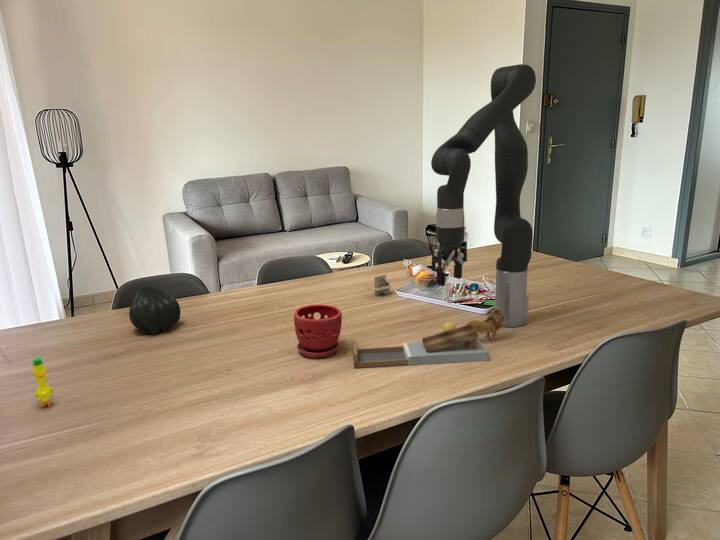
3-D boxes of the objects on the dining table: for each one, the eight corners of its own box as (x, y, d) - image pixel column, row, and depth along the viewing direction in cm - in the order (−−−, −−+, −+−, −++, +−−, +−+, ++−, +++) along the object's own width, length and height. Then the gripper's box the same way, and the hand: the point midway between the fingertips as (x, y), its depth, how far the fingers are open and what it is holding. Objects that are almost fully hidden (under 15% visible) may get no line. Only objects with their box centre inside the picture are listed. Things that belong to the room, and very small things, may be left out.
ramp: (472, 341, 149) (473, 323, 148) (478, 350, 144) (478, 331, 142) (421, 344, 148) (421, 326, 147) (425, 353, 143) (425, 334, 142)
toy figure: (35, 401, 129) (25, 355, 126) (52, 396, 131) (43, 350, 128) (39, 412, 124) (29, 364, 121) (57, 407, 126) (47, 360, 123)
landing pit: (403, 351, 150) (402, 338, 149) (408, 365, 142) (407, 351, 141) (352, 354, 149) (351, 340, 148) (354, 368, 141) (353, 354, 140)
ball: (454, 331, 157) (454, 319, 156) (457, 336, 153) (457, 324, 152) (441, 332, 156) (441, 320, 155) (444, 336, 153) (444, 324, 152)
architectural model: (392, 295, 201) (392, 276, 199) (378, 299, 197) (377, 279, 195) (386, 293, 203) (386, 274, 201) (372, 297, 199) (371, 277, 197)
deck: (477, 347, 152) (477, 339, 151) (487, 360, 143) (487, 352, 142) (403, 351, 150) (402, 343, 150) (408, 365, 142) (407, 356, 141)
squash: (192, 313, 171) (170, 274, 174) (146, 328, 160) (124, 286, 164) (179, 333, 180) (159, 295, 184) (136, 348, 170) (115, 308, 174)
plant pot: (306, 365, 144) (304, 322, 141) (289, 348, 155) (286, 308, 152) (351, 354, 150) (349, 313, 146) (331, 339, 161) (329, 300, 158)
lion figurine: (495, 333, 161) (496, 304, 158) (508, 339, 156) (509, 310, 154) (454, 343, 155) (455, 313, 152) (466, 350, 150) (466, 319, 148)
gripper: (452, 218, 154) (451, 273, 158) (423, 227, 144) (423, 285, 148) (475, 221, 149) (474, 278, 154) (447, 229, 139) (447, 290, 143)
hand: (449, 281), depth 151 cm, fingers open, 8 cm apart
